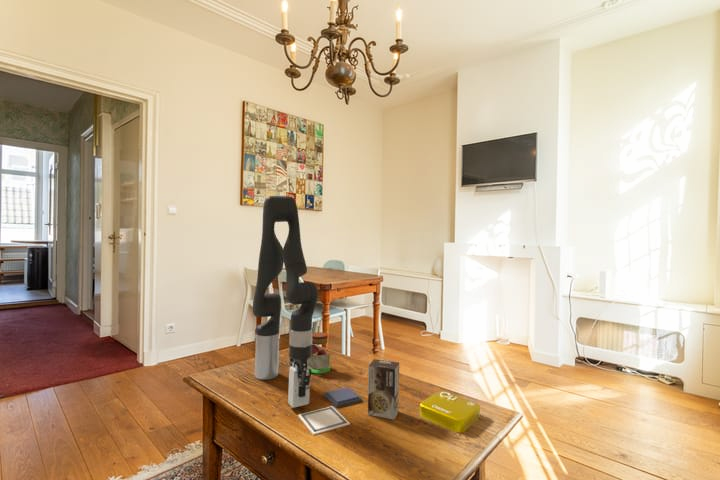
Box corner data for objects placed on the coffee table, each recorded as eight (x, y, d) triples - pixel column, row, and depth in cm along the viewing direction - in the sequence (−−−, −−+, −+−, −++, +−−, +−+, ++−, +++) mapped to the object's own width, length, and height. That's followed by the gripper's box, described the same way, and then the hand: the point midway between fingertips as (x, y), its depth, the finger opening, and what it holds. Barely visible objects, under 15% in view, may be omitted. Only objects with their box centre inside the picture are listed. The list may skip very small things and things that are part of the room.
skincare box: (292, 408, 110) (293, 371, 110) (287, 402, 114) (288, 366, 114) (310, 403, 113) (311, 367, 113) (304, 398, 117) (305, 363, 117)
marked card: (298, 415, 108) (298, 414, 108) (332, 407, 114) (332, 405, 114) (313, 435, 97) (313, 433, 97) (349, 424, 104) (349, 422, 104)
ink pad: (323, 395, 122) (323, 391, 122) (348, 390, 127) (348, 385, 127) (336, 407, 114) (336, 403, 114) (361, 401, 119) (362, 396, 119)
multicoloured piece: (303, 364, 152) (303, 330, 152) (331, 363, 153) (332, 330, 153) (301, 374, 140) (302, 338, 140) (332, 374, 142) (333, 338, 142)
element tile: (417, 417, 110) (417, 402, 110) (440, 401, 121) (440, 388, 121) (460, 436, 100) (461, 419, 100) (481, 417, 111) (482, 402, 111)
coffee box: (398, 410, 113) (400, 362, 113) (394, 420, 107) (395, 369, 107) (372, 405, 116) (373, 358, 116) (366, 414, 110) (368, 364, 110)
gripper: (282, 337, 117) (281, 387, 118) (297, 350, 105) (296, 405, 105) (303, 335, 121) (301, 383, 122) (320, 347, 109) (318, 400, 109)
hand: (299, 393), depth 113 cm, fingers closed on skincare box, 4 cm apart
